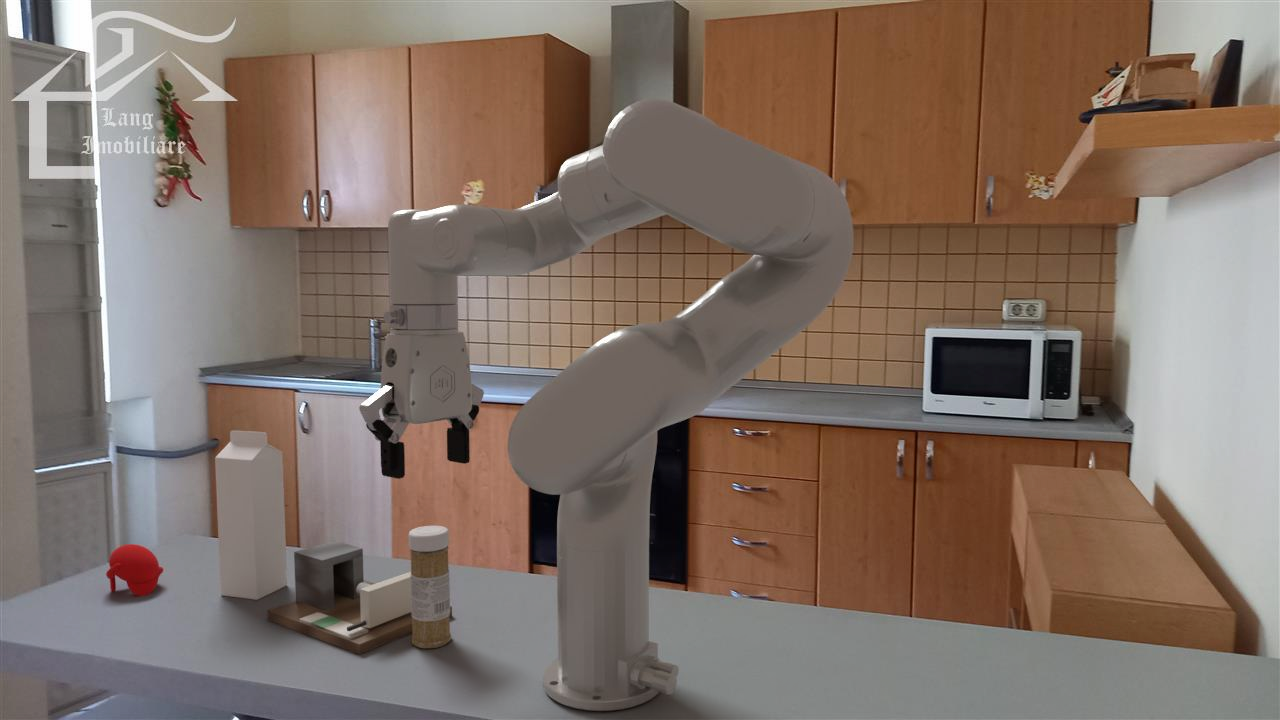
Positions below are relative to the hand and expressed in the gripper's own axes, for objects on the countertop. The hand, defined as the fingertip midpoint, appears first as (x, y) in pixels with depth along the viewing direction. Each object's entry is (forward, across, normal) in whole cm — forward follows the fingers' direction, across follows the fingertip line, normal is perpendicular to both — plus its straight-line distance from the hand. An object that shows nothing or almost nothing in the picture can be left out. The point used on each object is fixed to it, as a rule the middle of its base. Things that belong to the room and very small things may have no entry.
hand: (427, 469), depth 100 cm
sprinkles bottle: (+21, 0, 0) cm, 21 cm away
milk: (+21, -2, +33) cm, 39 cm away
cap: (+21, -11, +47) cm, 52 cm away
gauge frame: (+21, 0, +13) cm, 24 cm away
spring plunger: (+19, -1, +9) cm, 21 cm away
